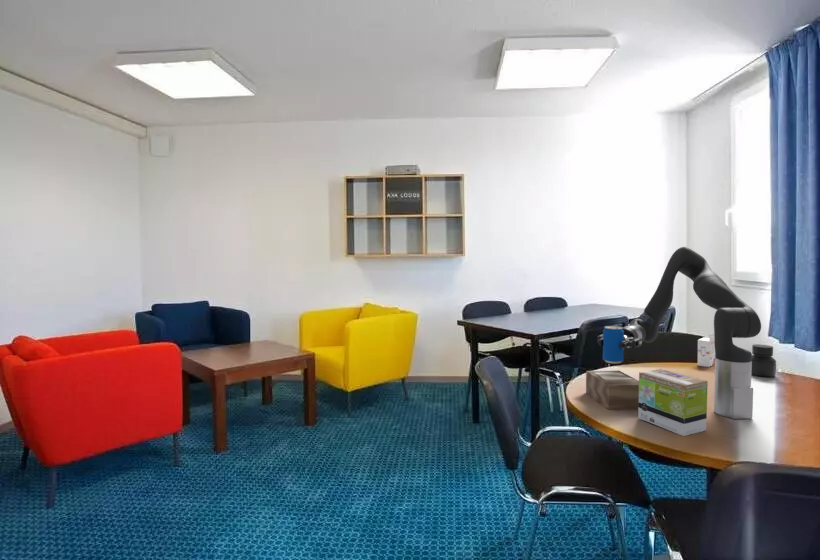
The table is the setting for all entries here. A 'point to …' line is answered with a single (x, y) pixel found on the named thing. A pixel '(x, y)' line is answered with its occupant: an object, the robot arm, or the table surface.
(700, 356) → the ink cartridge box
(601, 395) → the walnut box
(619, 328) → the beverage can
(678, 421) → the tea box
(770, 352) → the ink bottle
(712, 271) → the robot arm
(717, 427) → the table surface
